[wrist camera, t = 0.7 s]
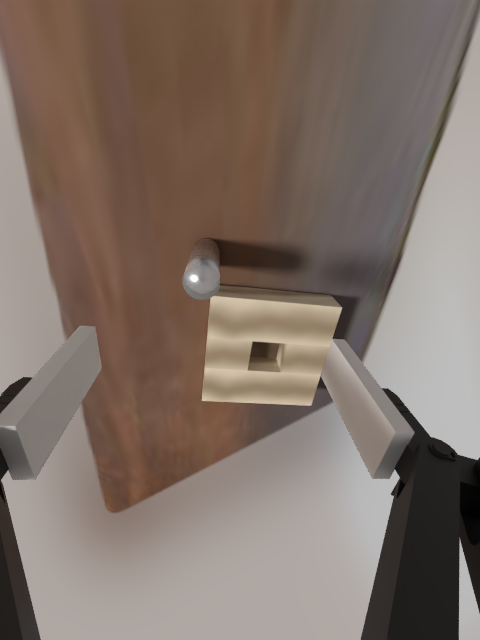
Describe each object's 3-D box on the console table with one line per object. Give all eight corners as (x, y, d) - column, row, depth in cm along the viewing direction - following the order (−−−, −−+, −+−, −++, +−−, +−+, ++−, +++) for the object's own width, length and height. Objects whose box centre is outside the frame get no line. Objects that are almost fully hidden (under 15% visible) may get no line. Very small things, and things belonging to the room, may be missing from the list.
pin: (193, 236, 33) (183, 262, 23) (220, 239, 33) (221, 266, 24) (192, 263, 35) (182, 298, 25) (218, 266, 35) (218, 301, 25)
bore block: (211, 283, 36) (211, 295, 32) (330, 295, 38) (342, 307, 34) (203, 382, 43) (202, 400, 40) (303, 387, 45) (311, 405, 41)
